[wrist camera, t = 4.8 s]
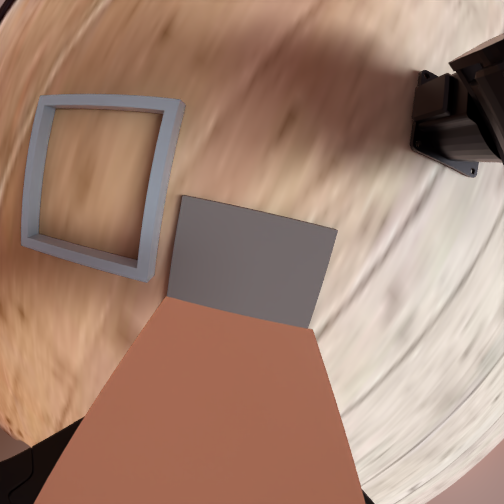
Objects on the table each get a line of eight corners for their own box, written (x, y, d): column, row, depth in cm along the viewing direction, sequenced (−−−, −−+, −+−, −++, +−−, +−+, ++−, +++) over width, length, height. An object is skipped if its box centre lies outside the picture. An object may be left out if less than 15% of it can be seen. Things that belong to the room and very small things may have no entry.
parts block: (312, 329, 10) (390, 610, 1) (272, 425, 11) (279, 624, 2) (166, 296, 9) (7, 555, 1) (155, 400, 11) (84, 589, 2)
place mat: (336, 229, 19) (337, 230, 18) (295, 358, 21) (296, 361, 21) (184, 195, 18) (182, 195, 18) (164, 330, 21) (162, 333, 20)
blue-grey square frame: (185, 104, 17) (180, 99, 15) (154, 275, 20) (146, 282, 18) (51, 98, 16) (40, 95, 15) (32, 241, 19) (21, 245, 18)
